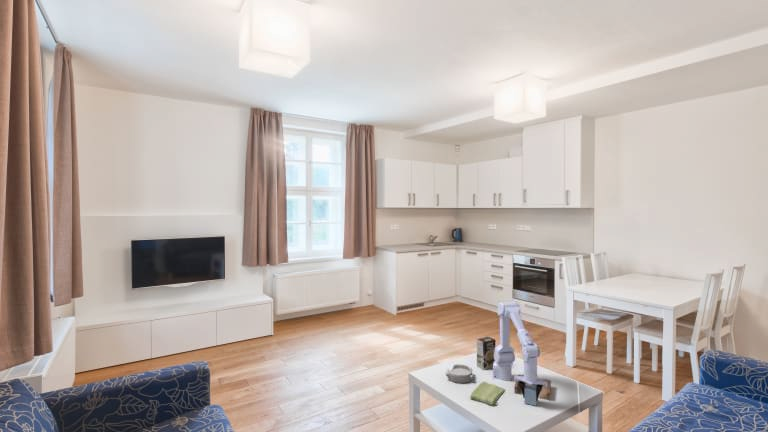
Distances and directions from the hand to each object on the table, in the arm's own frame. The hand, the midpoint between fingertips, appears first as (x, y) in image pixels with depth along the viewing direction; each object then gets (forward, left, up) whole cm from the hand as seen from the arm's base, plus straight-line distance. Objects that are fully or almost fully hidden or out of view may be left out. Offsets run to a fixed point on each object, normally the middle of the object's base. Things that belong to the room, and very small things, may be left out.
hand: (530, 398), depth 176 cm
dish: (-37, +13, -3) cm, 39 cm away
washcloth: (-20, +1, -4) cm, 20 cm away
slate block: (0, 0, -2) cm, 2 cm away
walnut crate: (0, +13, -3) cm, 13 cm away
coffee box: (-27, +33, -3) cm, 43 cm away
